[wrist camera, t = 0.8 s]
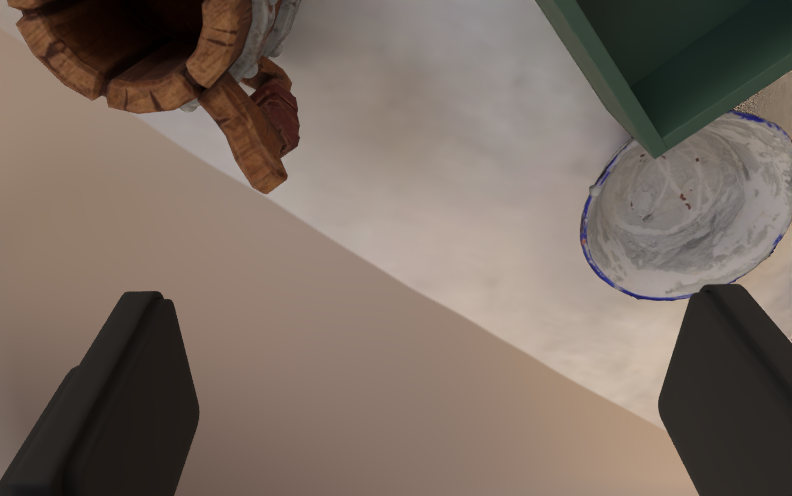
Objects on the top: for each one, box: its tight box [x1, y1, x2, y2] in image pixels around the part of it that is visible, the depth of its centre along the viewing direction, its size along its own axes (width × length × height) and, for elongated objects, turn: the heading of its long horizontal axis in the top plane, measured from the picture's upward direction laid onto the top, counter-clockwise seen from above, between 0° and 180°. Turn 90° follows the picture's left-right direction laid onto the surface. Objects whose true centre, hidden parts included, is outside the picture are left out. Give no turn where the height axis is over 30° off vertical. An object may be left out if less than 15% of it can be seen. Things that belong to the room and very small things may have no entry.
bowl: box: [580, 109, 792, 301], centre depth 39 cm, size 13×13×5 cm
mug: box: [7, 0, 300, 194], centre depth 28 cm, size 12×14×15 cm
